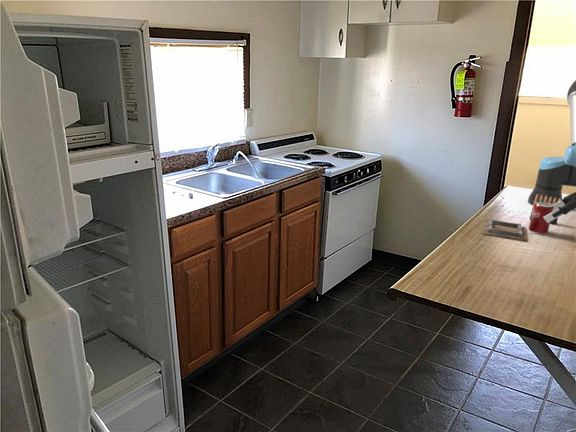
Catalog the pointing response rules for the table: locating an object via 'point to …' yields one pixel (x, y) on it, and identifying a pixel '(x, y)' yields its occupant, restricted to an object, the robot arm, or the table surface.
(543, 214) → the soda can
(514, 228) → the keeper board
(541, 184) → the robot arm
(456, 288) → the table surface
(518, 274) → the table surface
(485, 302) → the table surface
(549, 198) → the ammunition clip
